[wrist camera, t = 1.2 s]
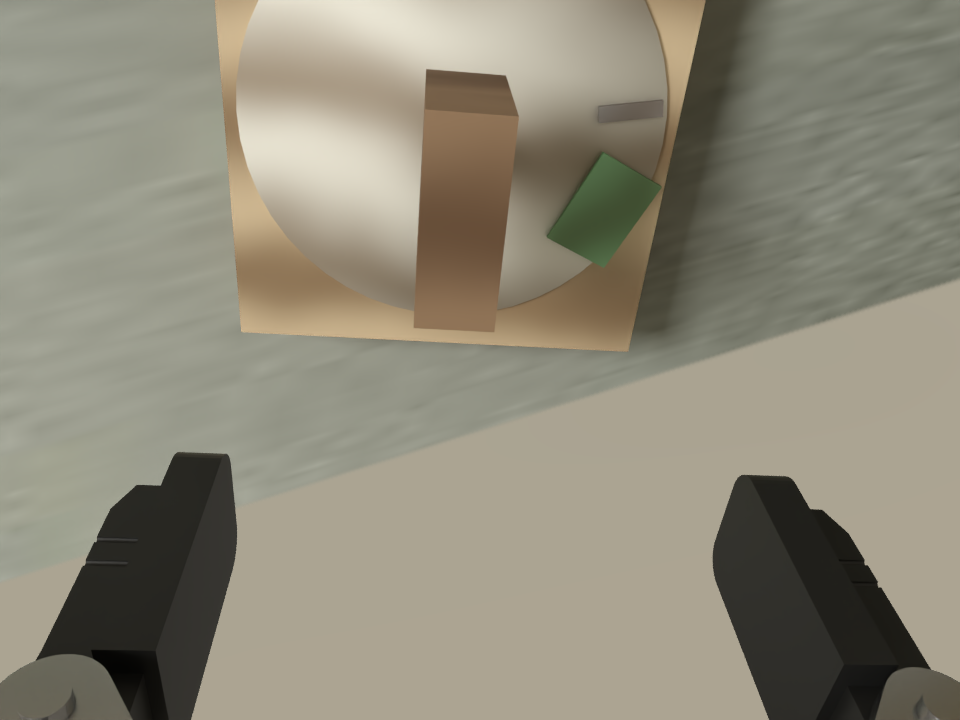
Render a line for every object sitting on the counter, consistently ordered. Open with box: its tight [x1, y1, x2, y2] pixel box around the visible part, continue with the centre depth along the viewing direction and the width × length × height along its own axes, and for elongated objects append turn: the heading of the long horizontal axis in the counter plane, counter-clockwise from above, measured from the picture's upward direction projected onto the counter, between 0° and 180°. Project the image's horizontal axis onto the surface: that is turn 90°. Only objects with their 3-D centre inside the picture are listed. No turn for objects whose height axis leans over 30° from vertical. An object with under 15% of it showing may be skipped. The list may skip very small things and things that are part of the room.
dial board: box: [215, 0, 706, 352], centre depth 32 cm, size 19×17×4 cm
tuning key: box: [414, 69, 519, 332], centre depth 27 cm, size 11×2×9 cm, turn 175°
